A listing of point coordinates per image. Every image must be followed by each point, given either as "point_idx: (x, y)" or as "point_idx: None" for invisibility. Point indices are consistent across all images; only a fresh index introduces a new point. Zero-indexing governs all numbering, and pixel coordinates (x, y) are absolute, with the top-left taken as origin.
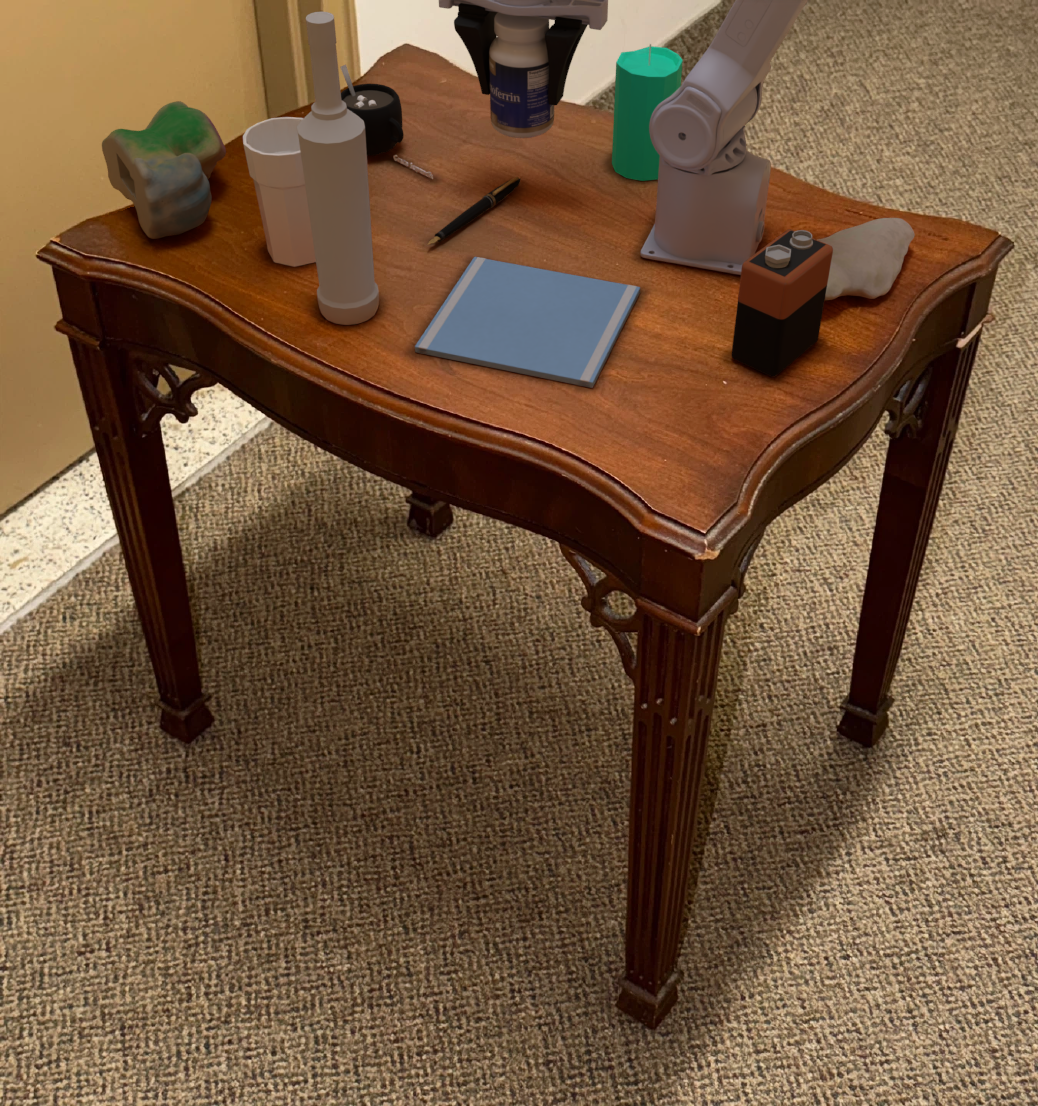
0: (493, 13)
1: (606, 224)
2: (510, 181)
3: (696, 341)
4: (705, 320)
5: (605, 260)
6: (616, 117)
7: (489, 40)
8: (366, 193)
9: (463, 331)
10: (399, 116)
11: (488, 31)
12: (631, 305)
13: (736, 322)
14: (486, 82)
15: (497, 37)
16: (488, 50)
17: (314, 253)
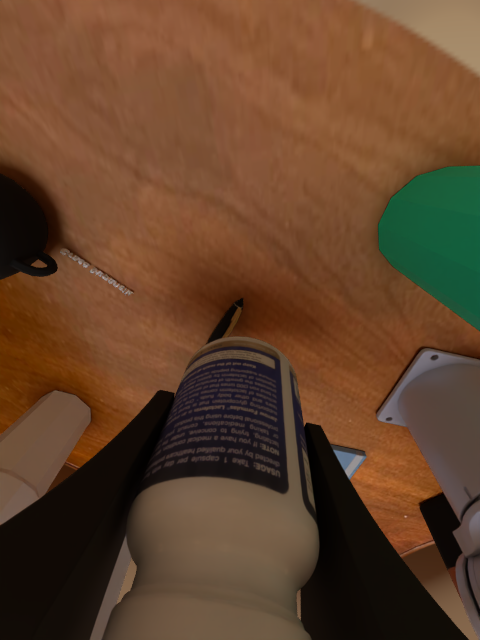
0: (63, 630)
1: (348, 365)
2: (232, 325)
3: (397, 490)
4: (412, 475)
5: (339, 416)
6: (422, 270)
7: (114, 535)
8: (115, 602)
9: None
10: (18, 239)
11: (97, 579)
12: (354, 472)
13: (436, 545)
14: None
15: (135, 556)
16: (127, 510)
17: (85, 428)
